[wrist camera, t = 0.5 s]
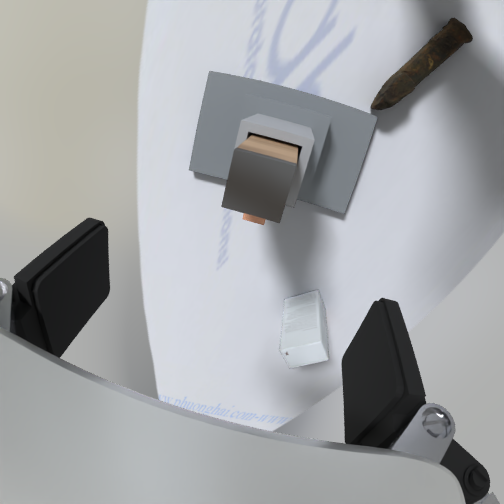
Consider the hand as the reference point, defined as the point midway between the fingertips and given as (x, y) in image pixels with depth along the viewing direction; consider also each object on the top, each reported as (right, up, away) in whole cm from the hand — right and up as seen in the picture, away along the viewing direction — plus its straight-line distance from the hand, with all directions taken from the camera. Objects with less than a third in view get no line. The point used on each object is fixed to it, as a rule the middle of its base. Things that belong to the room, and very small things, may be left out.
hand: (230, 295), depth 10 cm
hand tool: (+23, +26, +22) cm, 41 cm away
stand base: (+4, +16, +30) cm, 34 cm away
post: (+4, +13, +24) cm, 28 cm away
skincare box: (+10, -7, +41) cm, 43 cm away
